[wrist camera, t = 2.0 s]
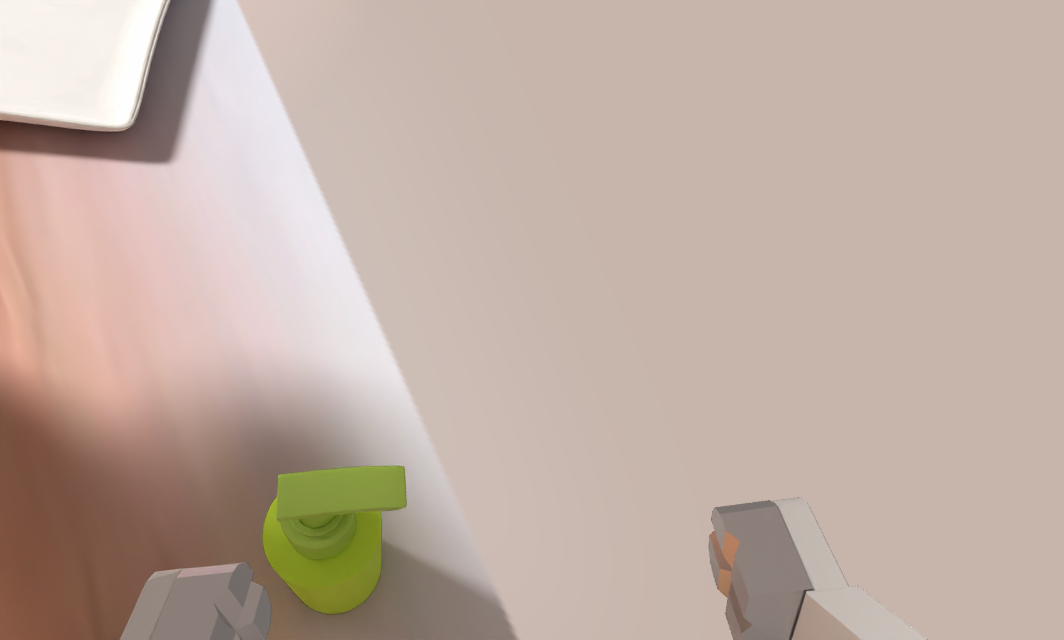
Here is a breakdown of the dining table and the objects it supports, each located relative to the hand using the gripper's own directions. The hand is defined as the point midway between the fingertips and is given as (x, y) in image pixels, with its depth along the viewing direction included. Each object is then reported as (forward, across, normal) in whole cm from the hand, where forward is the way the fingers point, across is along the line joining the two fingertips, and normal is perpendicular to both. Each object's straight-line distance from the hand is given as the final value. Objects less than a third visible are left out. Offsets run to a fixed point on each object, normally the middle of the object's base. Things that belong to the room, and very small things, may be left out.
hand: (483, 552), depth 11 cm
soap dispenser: (+19, +14, +29) cm, 38 cm away
